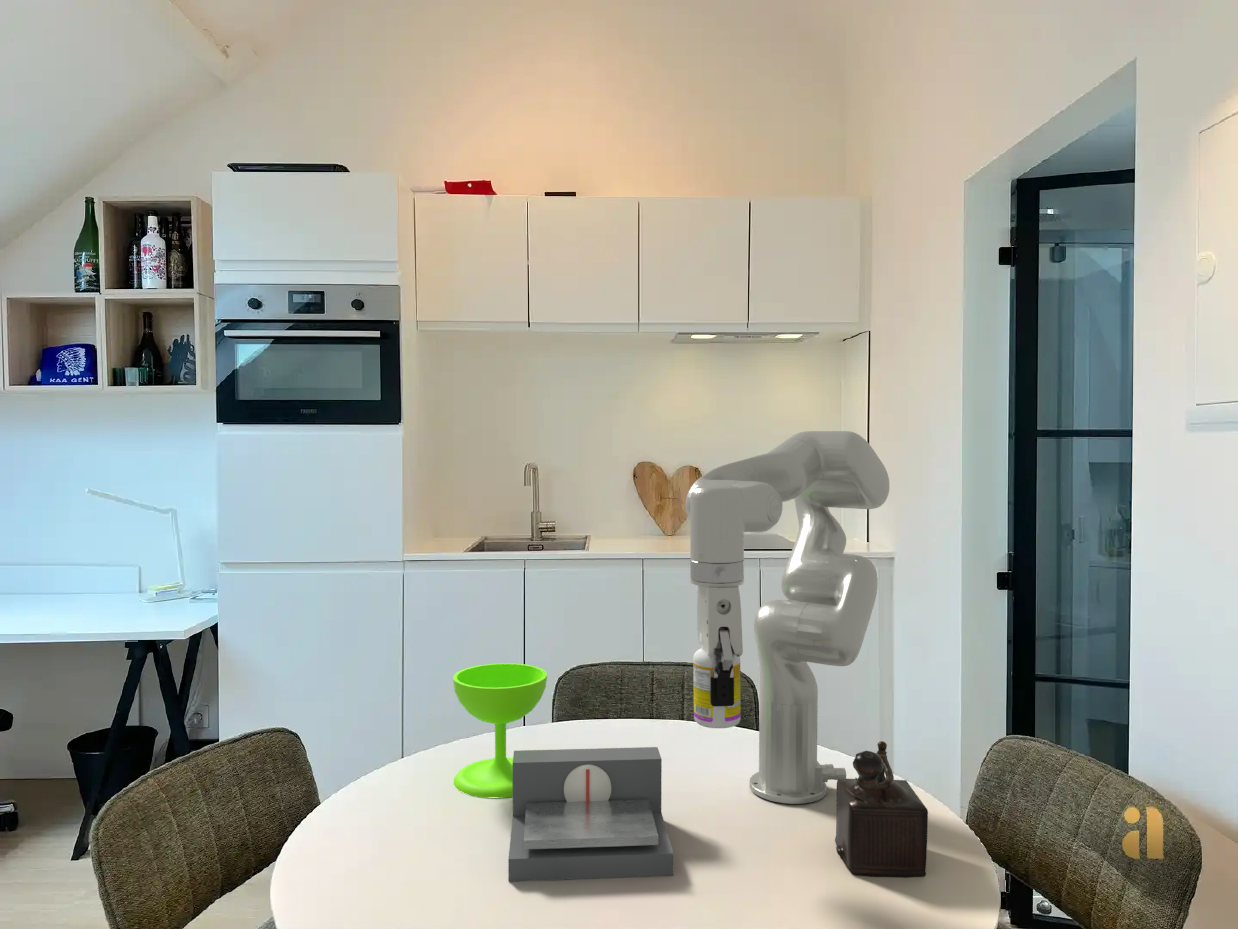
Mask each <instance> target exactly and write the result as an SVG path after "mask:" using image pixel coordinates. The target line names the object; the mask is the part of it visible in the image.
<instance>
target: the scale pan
mask: <svg viewBox="0 0 1238 929" xmlns="http://www.w3.org/2000/svg"><path fill="white" fill-rule="evenodd" d="M639 845H658V833H657V829H656V826H655V822H654V818H653V814H652V811H651V807H650V803H649V800H648V799H639V800H608V801H589V802H586V801H582V802H539V803H526V814H525V829H524V849H551V848H580V847H609V846H639Z"/></svg>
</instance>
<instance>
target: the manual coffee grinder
mask: <svg viewBox="0 0 1238 929" xmlns="http://www.w3.org/2000/svg"><path fill="white" fill-rule="evenodd" d="M887 746H888V744H887V743H886V741H882V740H881V741H879V742H877V748H878V750H877V751H876V752H874V751H869V750H864V751H860V752H858V753H856V754H855V757H854V760H853V762H852V767H853V769H854V770H855V771H856V773H857V775H858V777H855V778H846V779H845V778H839V779H838V780H836V804H835V805H836V808H835V809H836V814H835V815H836V816H835V819H836V821H835V823H836V825H835V826H836V827H835V837H834V842H835V845H836V846H835V851H836V853H837V854H838V856H839V857H840V859H841V860H842V862H843V864H844V865H845V867H846V868H847V870H848V871H849V872H850V874H852V875H859V876H866V877H877V878H878V877H879V878H880V877H882V878H883V877H884V878H885V877H886V878H914V877H915V878H920V877H922V878H923V877H926V875H927V872H926V870H927V853H928V822H929V820H928V819H929V816H928V815H929V811H928V809H927V807H926V805H925V804H924V803H923V802H922V799H920V797H919V796H918V794H916V792H915V791H914V789H913V788H912V786H911V785H910V784H909V782H908V781H907V780H905V779H895V776H894V772H893V770H892V768H891V765H890V763H889V760H888V755H887V754H888V753H887Z"/></svg>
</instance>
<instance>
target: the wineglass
mask: <svg viewBox="0 0 1238 929" xmlns="http://www.w3.org/2000/svg"><path fill="white" fill-rule="evenodd" d="M452 676H453V677H452V680H453V681H452V682H453V688H454V692H455V694H456V697H457V700H458V701H459V704H460V705H461V706H462V707H463V708H464V709H465V710H466V712H468V714H469V715H471V716H473V717H474V718H475V719H477V720H479V721H481V722H485V723H489V724H494V758H486V759H482V760H478V761H475V762H472V763H469V764H466V766H464V767H462V768H461V769H460V770H458V771H457V773H456V774H455V775H454V778H453V786H454V785H455V786H454V788H455V787H456V788H457V789H458V790H457V789H456V788H455V789H456V790H457V791H458V792H460V791H462V792H464V793H467V794H469V795H468V796H470V795H471V796H470V797H475V796H477V797H476V798H480V797H509V798H513V797H512V796H513V757H507V724H509V723H512V722H515V721H518V720H521V719H522V718H524V717H525V716H526V715H528V714H529V713H530V712H532V711H533V710H534V708H536V706H537V705H538V703H539V702H540V701H541V699H542V697H543V695H544V693H545V690H546V688H547V682H548V681H547V679H548V673H547V671H546V670H545V669H543V668H541V667H538V666H536V665H535V666H534V665H532V664H526V663H525V664H523V663H513V662H512V663H510V662H503V663H502V662H500V663H486V664H479V665H474V666H469V667H466V668H464V669H461V670H459V671H456V672H455V674H453V675H452ZM462 792H461V793H462ZM464 793H463V794H464ZM467 794H466V795H467Z"/></svg>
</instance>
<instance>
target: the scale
mask: <svg viewBox="0 0 1238 929" xmlns="http://www.w3.org/2000/svg"><path fill="white" fill-rule="evenodd" d="M512 758H513V797H512V818H511V819H512V821H511V830H510V841H509V851H508V861H507V862H508V866H507V867H508V868H507V869H508V870H507V871H508V878H507V879H508V882H527V881H530V882H531V881H535V882H536V881H555V880H580V879H581V880H585V879H610V878H612V879H613V878H634V877H635V878H636V877H637V878H639V877H640V878H641V877H660V876H661V877H664V876H665V877H666V876H667V877H668V876H674V851H673V847H672V844H671V840H670V837H669V834H668V829H667V827H666V824H665V820H664V816H663V813H662V772H663V771H662V767H663V766H662V760H663V759H662V757H661V754H660V750H659V748H658V746H651V747H650V746H645V747H644V746H643V747H610V748H609V747H607V748H606V747H604V748H602V747H601V748H568V749H567V748H566V749H564V748H563V749H562V748H561V749H533V750H531V749H530V750H529V749H528V750H526V749H523V750H521V749H520V750H513V756H512ZM639 799H648V800H649V803H650V807H651V811H652V814H653V818H654V822H655V826H656V829H657V833H658V845H639V846H609V847H580V848H551V849H524V829H525V814H526V803H539V802H582V801H586V802H589V801H608V800H639Z"/></svg>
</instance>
